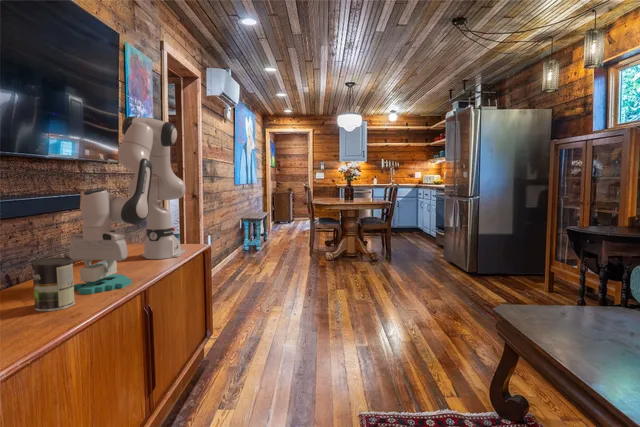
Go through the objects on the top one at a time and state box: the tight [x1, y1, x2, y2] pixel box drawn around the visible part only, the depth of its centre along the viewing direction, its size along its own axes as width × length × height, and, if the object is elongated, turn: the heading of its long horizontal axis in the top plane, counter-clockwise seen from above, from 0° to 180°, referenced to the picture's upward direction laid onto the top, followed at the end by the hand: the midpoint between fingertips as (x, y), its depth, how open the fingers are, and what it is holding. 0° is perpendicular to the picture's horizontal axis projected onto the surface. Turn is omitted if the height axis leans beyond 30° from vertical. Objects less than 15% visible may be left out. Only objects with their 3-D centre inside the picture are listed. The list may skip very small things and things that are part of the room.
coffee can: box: [30, 256, 76, 312], centre depth 117 cm, size 10×10×14 cm
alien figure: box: [74, 273, 133, 295], centre depth 139 cm, size 20×2×20 cm
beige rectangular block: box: [79, 260, 118, 283], centre depth 139 cm, size 13×5×5 cm, turn 175°
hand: (99, 271), depth 139 cm, fingers closed on beige rectangular block, 5 cm apart
